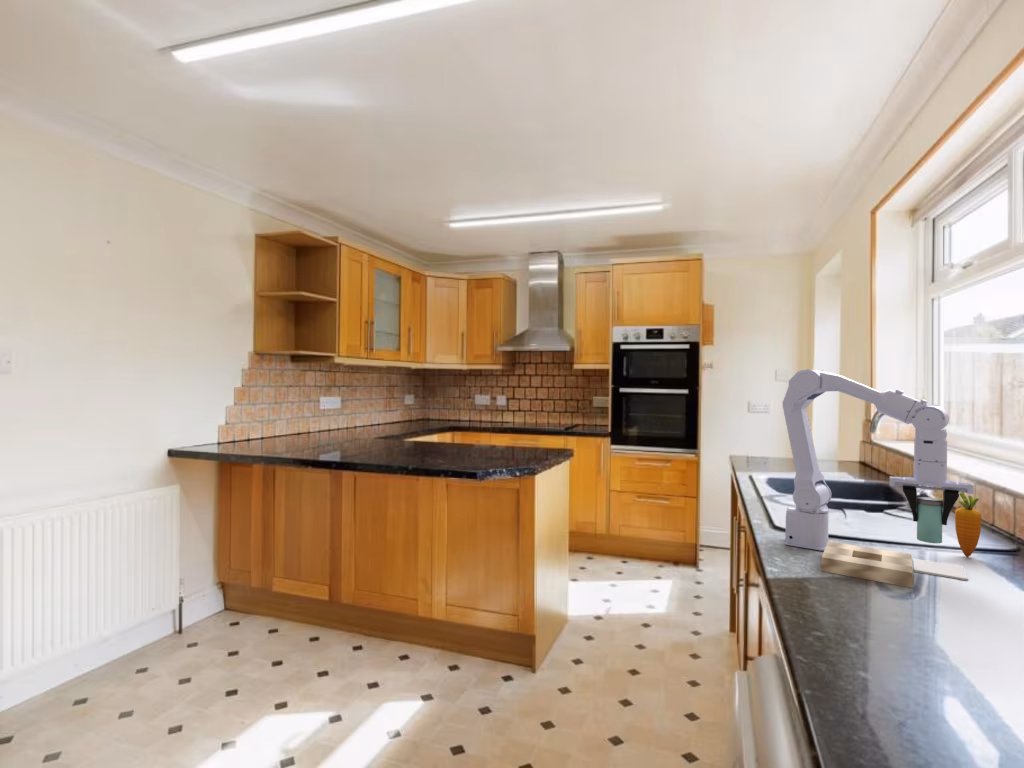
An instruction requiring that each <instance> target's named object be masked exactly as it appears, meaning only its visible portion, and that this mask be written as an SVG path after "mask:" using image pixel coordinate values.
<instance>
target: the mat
mask: <svg viewBox="0 0 1024 768" xmlns="http://www.w3.org/2000/svg"><path fill="white" fill-rule="evenodd" d="M912 566H913V573H914V572H916V573H921V574H926V575H933V576H938V577H944V578H950V579H957V580H962V581H967V582H968V581H969V578H968V574H967V572H966V570H965V569H966V568H965V566H962V565H956V564H950V563H944V562H938V561H937V562H936V561H933V560H924V559H919V558H914V557H913V558H912Z"/></svg>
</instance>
